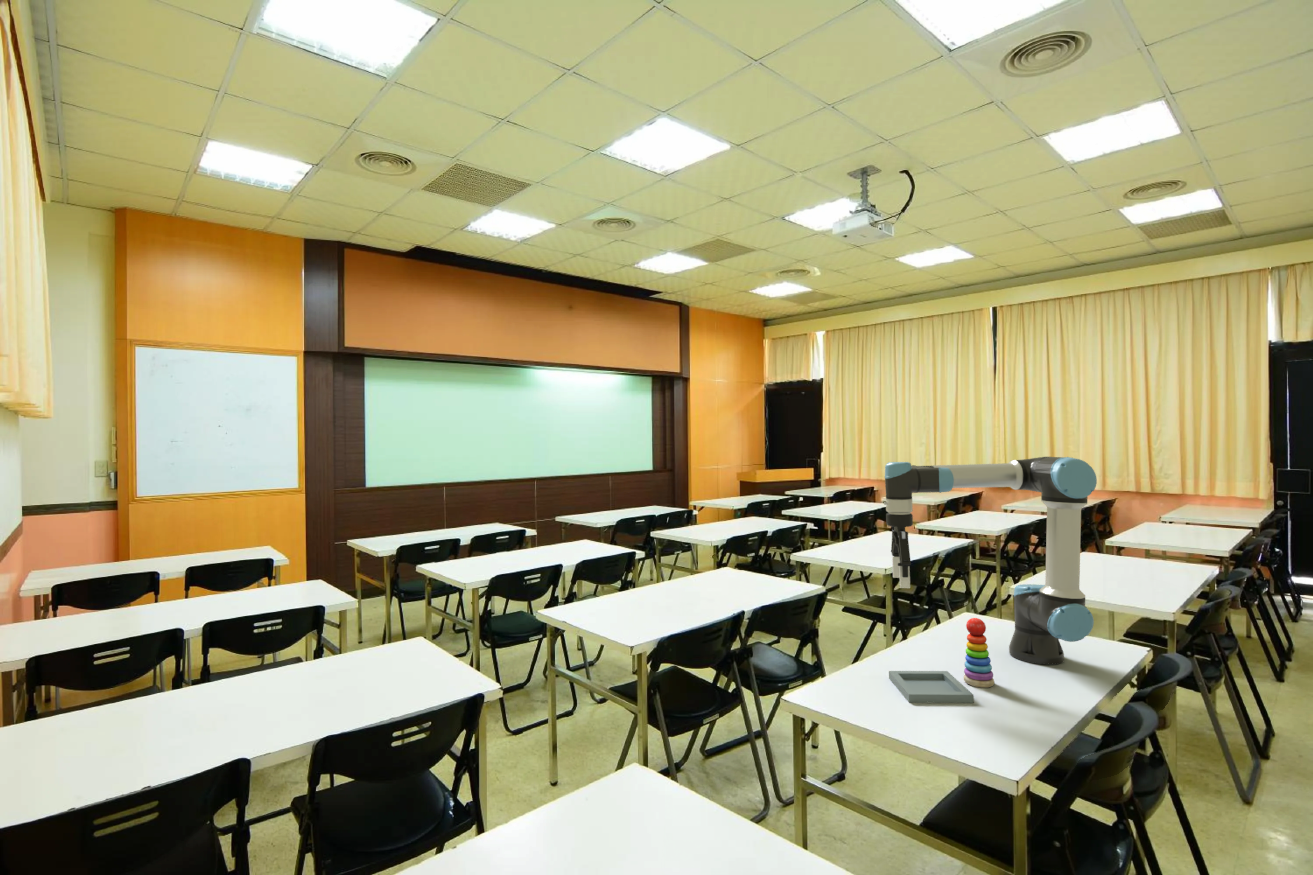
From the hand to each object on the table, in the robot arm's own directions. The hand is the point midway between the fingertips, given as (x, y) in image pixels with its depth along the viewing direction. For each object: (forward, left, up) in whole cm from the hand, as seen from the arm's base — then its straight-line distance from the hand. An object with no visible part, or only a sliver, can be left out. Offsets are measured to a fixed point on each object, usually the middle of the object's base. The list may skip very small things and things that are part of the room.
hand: (901, 582), depth 188 cm
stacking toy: (-19, +8, -28) cm, 34 cm away
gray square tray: (-3, +13, -27) cm, 30 cm away
